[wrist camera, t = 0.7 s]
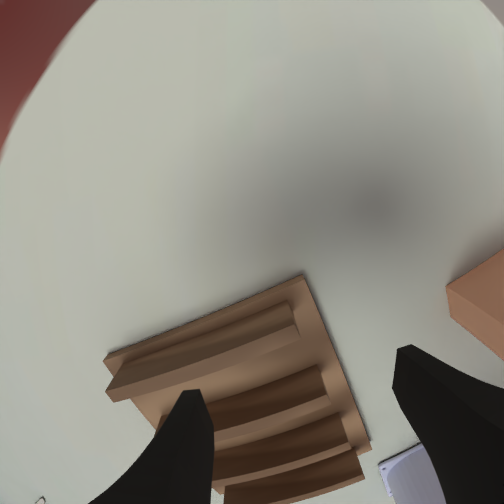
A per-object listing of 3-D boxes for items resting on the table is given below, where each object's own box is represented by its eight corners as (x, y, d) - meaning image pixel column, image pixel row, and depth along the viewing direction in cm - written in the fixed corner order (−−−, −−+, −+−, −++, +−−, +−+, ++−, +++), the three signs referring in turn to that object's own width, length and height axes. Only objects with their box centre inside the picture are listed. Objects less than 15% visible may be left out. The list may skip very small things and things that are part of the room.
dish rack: (369, 442, 24) (382, 475, 20) (220, 487, 26) (218, 520, 21) (302, 274, 20) (315, 300, 16) (107, 354, 22) (83, 387, 17)
